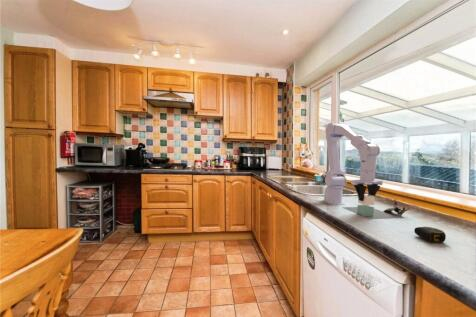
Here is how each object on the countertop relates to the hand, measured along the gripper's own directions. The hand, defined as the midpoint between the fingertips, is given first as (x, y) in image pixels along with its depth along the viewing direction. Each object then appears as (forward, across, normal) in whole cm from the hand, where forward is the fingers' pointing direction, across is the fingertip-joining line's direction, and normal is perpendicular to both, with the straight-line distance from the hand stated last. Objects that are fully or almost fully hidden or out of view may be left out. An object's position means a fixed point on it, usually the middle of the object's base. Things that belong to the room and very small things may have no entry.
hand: (365, 200), depth 97 cm
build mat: (+7, +5, +3) cm, 9 cm away
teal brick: (+6, 0, 0) cm, 6 cm away
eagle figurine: (+7, +16, 0) cm, 18 cm away
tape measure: (+7, +1, -27) cm, 28 cm away
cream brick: (+1, 0, 0) cm, 1 cm away
